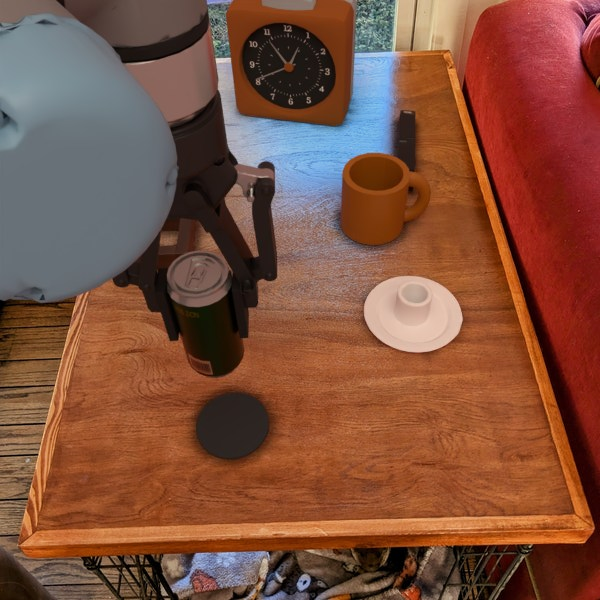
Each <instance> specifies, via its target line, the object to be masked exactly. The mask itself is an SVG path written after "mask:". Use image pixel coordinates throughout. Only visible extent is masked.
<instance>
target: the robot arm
mask: <svg viewBox="0 0 600 600" xmlns="http://www.w3.org/2000/svg"><path fill="white" fill-rule="evenodd" d="M219 80H220V79H219V73H218V65H217V60H216V52H215V45H214V40H213V32H212V25H211V19H210V14H209V8H208V0H0V301H3V302H5V301H8V300H13V301H14V300H16V301H17V300H19V301H21V300H22V301H34V302H37V303H39V304H46V303H54V302H60V301H64V300H68V299H71V298H75V297H77V296H81V295H84V294H86V293H88V292H91V291H93V290H95V289H97V288H99V287H101V286H103V285H104V284H106V283H108V282H110V281H111V280H112V283H113V284H114V286H116V287H118V288H122V289H123V288H127V287H129V286H130V285H132V286H136V287H137V288H138V289H139V290H140V291H141V293H142V295H143V298H144V301H145V304H146V306H147V309H148V310H149V311H150V312H151V313H160V315H161V318H162V322H163V324H164V327H165V330H166V333H167V337H168V340H169V342H179V341H180V333H179V329H178V326H177V323H176V319H175V316H174V312H173V309H172V306H171V302H170V299H169V296H168V292H167V286H166V282H167V272H168V268H158V270H157V264H158V256H159V247H160V246H161V238H162V237H161V236H162V231H161V230H162V227H163V225H164V223H165V221H172V220H176V219H181V218H184V219H191V220H196V221H198V222H199V224H200V225H201V227H202V228H203V230H204V232H205V233H207V234H208V233H209V234H210V236H211V238H212V240H213V241H214V243H215V245H216V246H217V248H218V249H219V252H220V253H221V254H222V257H223V259H224V260H225V262H226V263H227V266H228V267H229V269H230V270H231V272H232V295H233V301H234V307H235V313H236V319H237V325H238V330H239V336H240V338H243V339H249V332H250V331H249V330H250V310H249V309H254V308H255V309H257V308H258V305H259V281H261V280H263V281H266V282H273V281H275V280H277V279H278V249H277V241H276V234H275V227H274V219H273V211H272V204H273V203H272V202H273V199H274V196H275V194H276V166H275V164H274V163H272V162H271V161H267V160H266V161H261V162H260V163H259V164H258V165H257V167H255V166H252V165H251V166H250V165H245V164H240V163H239V162H238V160H237V158H236V156H235V155H234V154H233V152H232V151H231V149H230V147H229V145H228V139H227V130H226V124H225V117H224V109H223V102H222V96H221V92H220V90H219ZM235 185H238V186H239V187H241V190H242V194H243V196H244V197H245V198H246V201H247V202H248V203H251V218H252V224H253V230H254V236H255V242H256V243H255V244H256V249H257V255H258V256H254V254H253V252H252V250H251V249H250V247H249V245H248V243H247V241H246V239H245V237H244V236H243V234H242V232H241V230H240V229H239V226H238V224H237V223H236V221H235V218H234V217H233V216H232V213H231V211H230V210H229V207H228V206H227V203H226V197H227V195H228V194H229V193H230V192H231V190H232V189H233V188H234V186H235ZM140 256H141V261H140V262H135V261H136V260H137V259H138V258H139V257H140Z"/></svg>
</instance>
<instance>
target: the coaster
mask: <svg viewBox="0 0 600 600" xmlns="http://www.w3.org/2000/svg"><path fill="white" fill-rule="evenodd" d="M195 423H196V424H195V432H196V437H197V440H198V442H199V444H200V445H201V447H202V449H204V450H205V451H206V453H208V454H210V455H211V456H213V457H216V458H218V459H221V460H238V459H242V458H245V457H247V456H249V455H251V454H253V453H254V452H256V451H257V450H258V449H259V448H260V447H261V446H262V445H263V443H264V442H265V440H266V439H267V436H268V433H269V430H270V418H269V414H268V411H267V409H266V407H265V406H264V405H263V403H262V402H261V401H259V399H257V397H254V396H253V395H250V394H249V393H248V394H247V393H243V392H227V393H223V394H220V395H218V396H216V397H213V398H212V399H211V400H209V401H208V402H207V403H206V404H205V405H204V406H203V407H202V409H201V411H200V412H199V413H198V416H197V419H196V422H195Z"/></svg>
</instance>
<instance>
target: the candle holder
mask: <svg viewBox="0 0 600 600" xmlns="http://www.w3.org/2000/svg"><path fill="white" fill-rule="evenodd" d="M363 316H364V320H365V323H366V325H367V327H368V329H369V330H370V332H371V333H372V334H373V336H375V337H376V338H377V339H378V340H380V342H382V343H383V344H385V345H387V346H389V347H391V348H394V349H396V350H399V351H403V352H407V353H427V352H432V351H435V350H438V349H441V348H443V347H444V346H446V345H448V344H449V343H451V342H452V341H453V340H454V339H455V338H456V337H457V336H458V335H459V333H460V331H461V328H462V324H463V321H464V317H463V314H462V309H461V306H460V304H459V302H458V300H457V298H456V297H455V296H454V295H453V293H452V292H451V291H450V290H449V289H448V288H447V287H445V286H443V285H442V284H441V283H438V282H437V281H434V280H432V279H430V278H426V277H422V276H417V275H400V276H394V277H391V278H388V279H386V280H384V281H382V282H380V283H378V284H376V286H374V287H373V288H372V290H371V291H370V292H369V293H368V295H367V297H366V299H365V301H364V305H363Z"/></svg>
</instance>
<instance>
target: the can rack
mask: <svg viewBox="0 0 600 600" xmlns="http://www.w3.org/2000/svg"><path fill="white" fill-rule="evenodd" d="M196 227H197V220H191V219H184V218H181V219H176V220H172V221H165V223H164V225H163V227H162V230H161V232H169V231H170V232H172V231H177V232H178V233H177V240H176V244H174V245H173V244H172V245H160V247H159V256H158V264H157V271H158V268H168V269H169V267H170V265H171V264H172V263H173V261H174V260H176V259H177V258H178V257H180V256H181V255H184V254H186V253H188V252H193V251H194V246H195V237H196V229H197V228H196ZM140 261H141V256H140V257H139V258H138V259H137V260H136V261H135V262H140Z"/></svg>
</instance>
